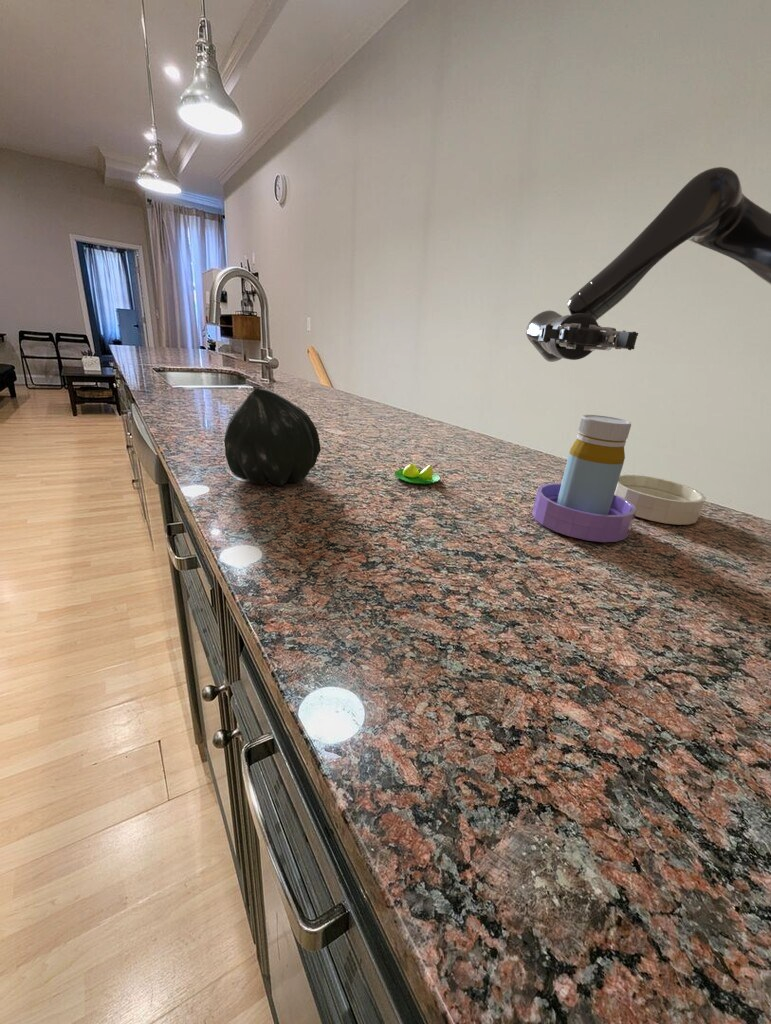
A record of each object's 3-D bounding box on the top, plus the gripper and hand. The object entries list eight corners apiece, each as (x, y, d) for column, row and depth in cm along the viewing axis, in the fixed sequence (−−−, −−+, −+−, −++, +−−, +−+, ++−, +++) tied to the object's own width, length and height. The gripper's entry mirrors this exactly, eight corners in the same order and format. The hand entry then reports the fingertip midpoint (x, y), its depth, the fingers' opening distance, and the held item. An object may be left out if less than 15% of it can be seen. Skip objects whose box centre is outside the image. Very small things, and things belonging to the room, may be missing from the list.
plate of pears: (441, 476, 81) (443, 461, 80) (436, 489, 74) (438, 473, 73) (399, 469, 83) (400, 454, 82) (389, 482, 75) (391, 466, 74)
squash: (333, 436, 79) (274, 366, 72) (339, 464, 66) (268, 381, 59) (272, 484, 81) (209, 420, 74) (266, 521, 68) (189, 447, 61)
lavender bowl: (552, 500, 74) (558, 477, 72) (638, 527, 66) (646, 502, 65) (516, 520, 65) (522, 494, 63) (611, 553, 57) (620, 525, 55)
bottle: (613, 526, 65) (645, 423, 59) (585, 534, 61) (616, 425, 55) (571, 509, 70) (597, 413, 64) (543, 516, 66) (568, 414, 60)
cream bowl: (619, 490, 83) (625, 470, 81) (702, 513, 75) (711, 490, 73) (596, 506, 73) (603, 483, 72) (688, 534, 65) (698, 509, 64)
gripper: (534, 311, 80) (556, 305, 65) (616, 317, 79) (657, 313, 64) (526, 355, 83) (545, 359, 68) (605, 362, 82) (642, 368, 67)
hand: (600, 337), depth 66 cm, fingers open, 8 cm apart
